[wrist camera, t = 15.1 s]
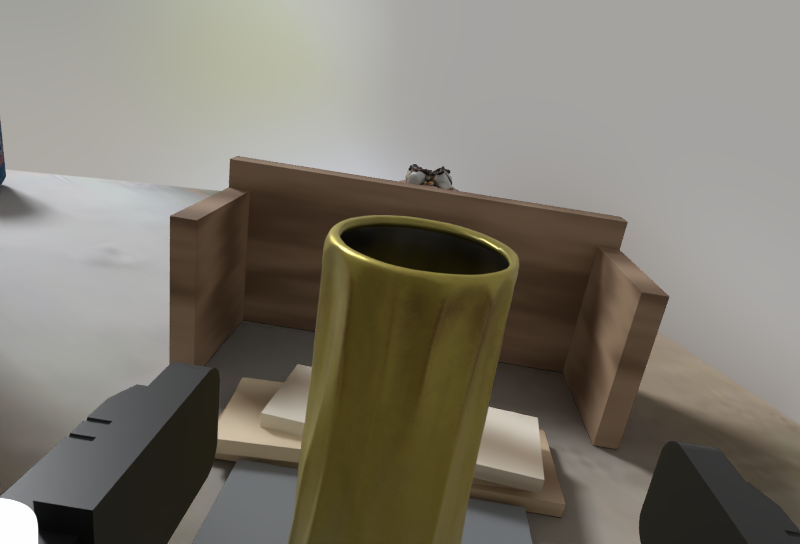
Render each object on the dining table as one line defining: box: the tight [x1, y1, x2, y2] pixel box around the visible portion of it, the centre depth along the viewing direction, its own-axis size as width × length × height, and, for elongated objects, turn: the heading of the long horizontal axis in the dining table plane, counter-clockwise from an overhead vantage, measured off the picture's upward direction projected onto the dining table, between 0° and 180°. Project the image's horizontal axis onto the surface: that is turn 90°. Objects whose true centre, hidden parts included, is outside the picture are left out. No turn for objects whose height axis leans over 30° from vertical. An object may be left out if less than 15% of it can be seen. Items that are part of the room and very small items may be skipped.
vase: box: [288, 215, 519, 544], centre depth 17 cm, size 6×6×14 cm
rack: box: [170, 156, 669, 517], centre depth 32 cm, size 17×28×12 cm, turn 86°
